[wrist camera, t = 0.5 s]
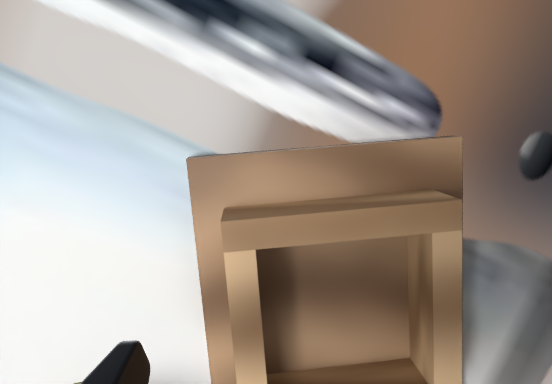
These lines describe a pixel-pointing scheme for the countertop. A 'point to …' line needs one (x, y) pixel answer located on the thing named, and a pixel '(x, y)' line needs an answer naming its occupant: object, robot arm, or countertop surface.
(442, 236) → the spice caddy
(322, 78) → the countertop surface
